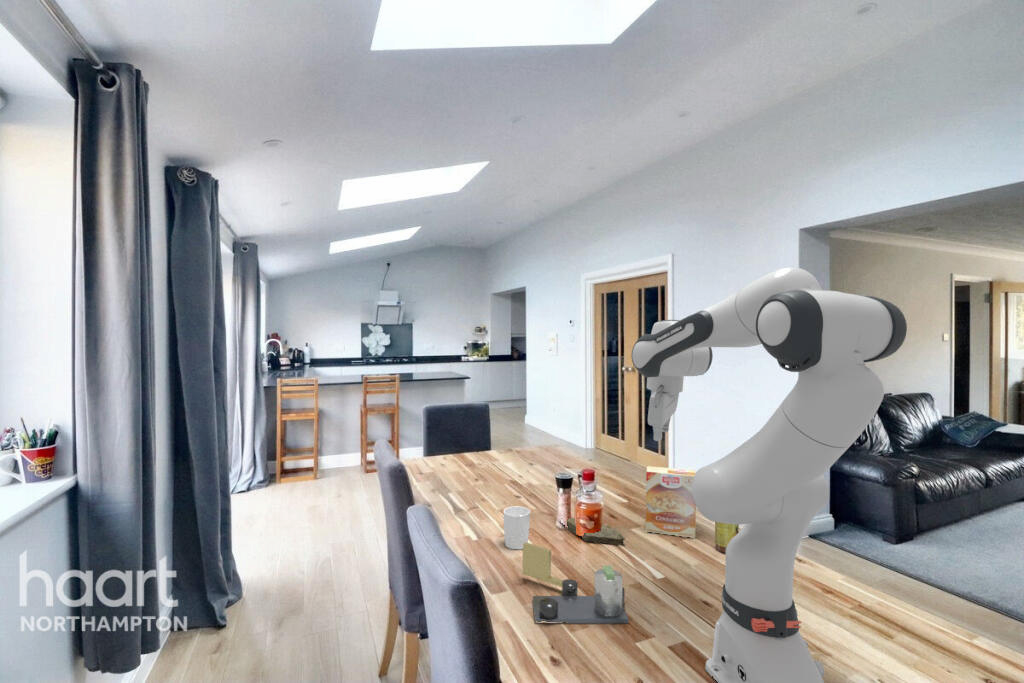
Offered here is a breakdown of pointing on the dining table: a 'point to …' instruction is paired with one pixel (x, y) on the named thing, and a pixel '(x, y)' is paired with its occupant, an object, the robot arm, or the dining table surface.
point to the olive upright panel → (544, 568)
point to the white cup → (516, 526)
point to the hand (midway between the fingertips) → (661, 435)
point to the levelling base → (586, 602)
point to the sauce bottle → (724, 535)
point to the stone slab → (599, 534)
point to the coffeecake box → (670, 502)
